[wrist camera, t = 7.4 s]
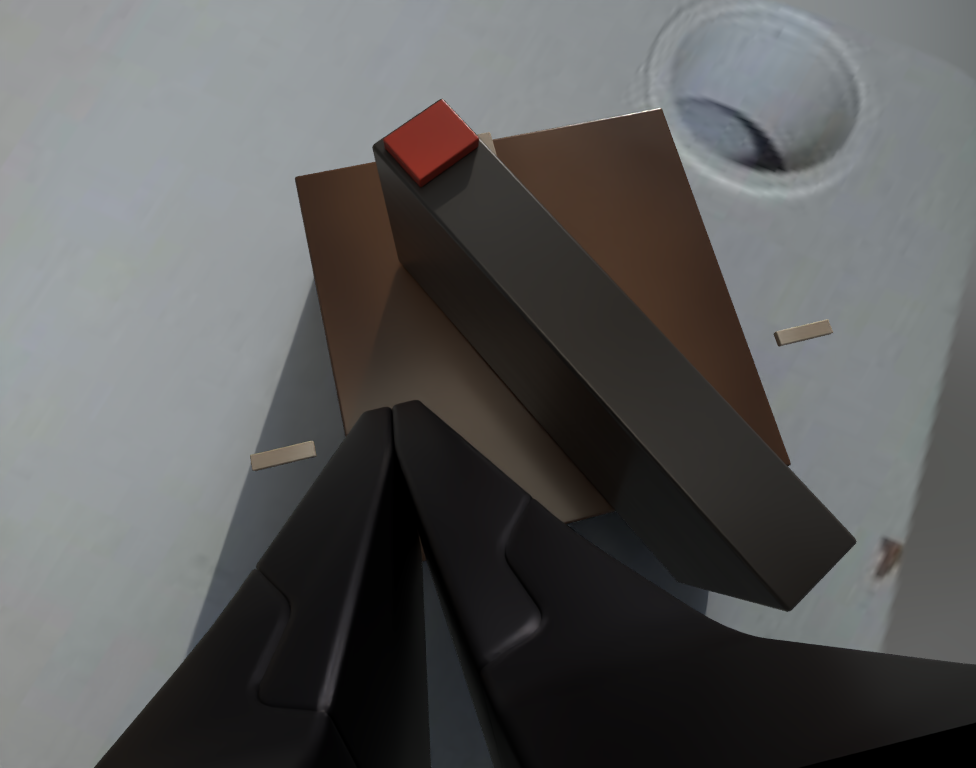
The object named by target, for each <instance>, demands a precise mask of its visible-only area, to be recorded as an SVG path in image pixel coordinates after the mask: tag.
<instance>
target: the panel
mask: <svg viewBox="0 0 976 768" xmlns="http://www.w3.org/2000/svg"><path fill="white" fill-rule="evenodd" d="M477 136H478V137H479V138H480V139H481V140H482V141H483V142H484V143H485V144H486V145H487V146H488V147H489V148H490V149H491V151H492V152H493V153H494V154H495V155H496V156H497V157H498V158H499V159H500V160H501V161H502V162H503V163H504V164H505V165H506V167H507V168H508V169H509V170H510V171H511V172H512V173H513V174H514V175H515V176H516V177H517V178H518V179H519V180H520V181H521V183H522V184H523V185H524V186H525V187H526V188H527V189H528V190H529V191H530V192H531V193H532V194H533V195H534V196H535V197H536V199H537V200H538V201H539V202H540V203H541V204H542V205H543V206H544V207H545V208H546V209H547V210H548V211H549V212H550V213H551V215H552V216H553V217H554V218H555V219H556V220H557V221H558V222H559V223H560V224H561V225H562V226H563V227H564V228H565V229H566V231H567V232H568V233H569V234H570V235H571V236H572V237H573V238H574V239H575V240H576V241H577V242H578V243H579V244H580V245H581V247H582V248H583V249H584V250H585V251H586V252H587V253H588V254H589V255H590V256H591V257H592V258H593V259H594V260H595V261H596V263H597V264H598V265H599V266H600V267H601V268H602V269H603V270H604V271H605V272H606V273H607V274H608V275H609V276H610V277H611V279H612V280H613V281H614V282H615V283H616V284H617V285H618V286H619V287H620V288H621V289H622V290H623V291H624V292H625V293H626V295H627V296H628V297H629V298H630V299H631V300H632V301H633V302H634V303H635V304H636V305H637V306H638V307H639V308H640V309H641V311H642V312H643V313H644V314H645V315H646V316H647V317H648V318H649V319H650V320H651V321H652V322H653V323H654V324H655V325H656V327H657V328H658V329H659V330H660V331H661V332H662V333H663V334H664V335H665V336H666V337H667V338H668V339H669V340H670V341H671V343H672V344H673V345H674V346H675V347H676V348H677V349H678V350H679V351H680V352H681V353H682V354H683V355H684V356H685V357H686V359H687V360H688V361H689V362H690V363H691V364H692V365H693V366H694V367H695V368H696V369H697V370H698V371H699V372H700V373H701V375H702V376H703V377H704V378H705V379H706V380H707V381H708V382H709V383H710V384H711V385H712V386H713V387H714V388H715V389H716V391H717V392H718V393H719V394H720V395H721V396H722V397H723V398H724V399H725V400H726V401H727V402H728V403H729V404H730V405H731V407H732V408H733V409H734V410H735V411H736V412H737V413H738V414H739V415H740V416H741V417H742V418H743V419H744V420H745V421H746V423H747V424H748V425H749V426H750V427H751V428H752V429H753V430H754V431H755V432H756V433H757V434H758V435H759V436H760V437H761V439H762V440H763V441H764V442H765V443H766V444H767V445H768V446H769V447H770V448H771V449H772V450H773V451H774V452H775V453H776V455H777V456H778V457H779V458H780V459H781V460H782V461H783V462H784V463H785V464H786V465H787V466H789V465H791V463H790V460H789V457H788V455H787V452H786V449H785V446H784V443H783V441H782V438H781V435H780V432H779V430H778V427H777V424H776V421H775V419H774V416H773V413H772V410H771V408H770V405H769V402H768V399H767V397H766V394H765V391H764V388H763V386H762V383H761V380H760V377H759V375H758V372H757V369H756V366H755V364H754V361H753V358H752V355H751V353H750V350H749V347H748V344H747V342H746V339H745V336H744V333H743V331H742V328H741V325H740V322H739V320H738V317H737V314H736V311H735V309H734V306H733V303H732V300H731V298H730V295H729V292H728V289H727V287H726V284H725V281H724V278H723V276H722V273H721V270H720V267H719V265H718V262H717V259H716V256H715V254H714V251H713V248H712V245H711V243H710V240H709V237H708V234H707V232H706V229H705V226H704V223H703V221H702V218H701V215H700V212H699V210H698V207H697V204H696V201H695V199H694V196H693V193H692V190H691V188H690V185H689V182H688V179H687V177H686V174H685V171H684V168H683V166H682V163H681V160H680V157H679V154H678V152H677V149H676V146H675V143H674V141H673V138H672V135H671V132H670V130H669V127H668V124H667V121H666V119H665V116H664V113H663V110H662V109H661V108H658V109H653V110H647V111H642V112H637V113H632V114H626V115H621V116H616V117H610V118H605V119H600V120H594V121H589V122H584V123H579V124H573V125H568V126H563V127H557V128H552V129H547V130H541V131H536V132H531V133H526V134H520V135H515V136H510V137H504V138H499V139H494V140H492V137H491V134H490V132H488V133H483V134H478V135H477ZM295 182H296V187H297V192H298V197H299V203H300V208H301V213H302V218H303V223H304V228H305V233H306V238H307V243H308V248H309V254H310V259H311V264H312V269H313V274H314V279H315V284H316V289H317V294H318V299H319V304H320V310H321V315H322V320H323V325H324V330H325V335H326V340H327V345H328V350H329V355H330V361H331V366H332V371H333V376H334V381H335V386H336V391H337V396H338V401H339V406H340V411H341V417H342V422H343V427H344V432H345V437H346V436H347V435H348V433H349V432H350V431H351V429H352V428H353V426H354V425H355V423H356V422H357V421H358V419H359V418H360V416H361V415H362V414H363V413H364V412H366V411H369V410H374V409H378V408H382V407H390V408H391V409H392V408H393V406H394V405H396V404H400V403H404V402H408V401H412V400H419V401H421V402H422V403H423V404H424V405H425V406H427V407H428V408H429V409H430V410H431V411H432V412H434V413H435V414H436V415H437V416H438V417H440V418H441V419H442V420H443V421H444V422H445V423H447V424H448V425H449V426H450V427H451V428H452V429H454V430H455V431H456V432H457V433H458V434H459V435H461V436H462V437H463V438H464V439H465V440H466V441H468V442H469V443H470V444H471V445H472V446H473V447H475V448H476V449H477V450H478V451H479V452H481V453H482V454H483V455H484V456H485V457H486V458H488V459H489V460H490V461H491V462H492V463H493V464H495V465H496V466H497V467H498V468H499V469H500V470H502V471H503V472H504V473H505V474H506V475H507V476H509V477H510V478H511V479H512V480H513V481H514V482H516V483H517V484H518V485H519V486H520V487H522V488H523V489H524V490H525V491H526V492H527V493H529V494H530V495H531V496H532V498H533V499H536V500H537V501H538V502H539V503H541V504H542V505H543V506H544V507H545V508H546V509H548V510H549V511H550V512H551V513H552V514H553V515H555V516H556V517H557V518H558V519H560V520H561V521H562V522H564V523H565V524H569V523H572V522H576V521H580V520H584V519H588V518H592V517H595V516H599V515H603V514H607V513H611V512H615V511H616V510H615V509H614V508H613V507H612V506H611V505H610V504H609V502H608V501H607V500H606V499H605V498H604V497H603V495H602V494H601V493H600V492H599V491H598V490H597V489H596V487H595V486H594V485H593V484H592V483H591V482H590V480H589V479H588V478H587V477H586V476H585V475H584V474H583V472H582V471H581V470H580V469H579V468H578V467H577V466H576V464H575V463H574V462H573V461H572V460H571V459H570V457H569V456H568V455H567V454H566V453H565V452H564V451H563V449H562V448H561V447H560V446H559V445H558V444H557V442H556V441H555V440H554V439H553V438H552V437H551V436H550V434H549V433H548V432H547V431H546V430H545V429H544V427H543V426H542V425H541V424H540V423H539V422H538V421H537V419H536V418H535V417H534V416H533V415H532V414H531V413H530V411H529V410H528V409H527V408H526V407H525V406H524V404H523V403H522V402H521V401H520V400H519V399H518V398H517V396H516V395H515V394H514V393H513V392H512V391H511V389H510V388H509V387H508V386H507V385H506V384H505V383H504V381H503V380H502V379H501V378H500V377H499V376H498V374H497V373H496V372H495V371H494V370H493V369H492V368H491V366H490V365H489V364H488V363H487V362H486V361H485V359H484V358H483V357H482V356H481V355H480V354H479V353H478V351H477V350H476V349H475V348H474V347H473V346H472V345H471V343H470V342H469V341H468V340H467V339H466V338H465V336H464V335H463V334H462V333H461V332H460V331H459V330H458V328H457V327H456V326H455V325H454V324H453V323H452V321H451V320H450V319H449V318H448V317H447V316H446V315H445V313H444V312H443V311H442V310H441V309H440V308H439V306H438V305H437V304H436V303H435V302H434V301H433V300H432V298H431V297H430V296H429V295H428V294H427V293H426V292H425V290H424V289H423V288H422V287H421V286H420V285H419V283H418V282H417V281H416V280H415V279H414V278H413V277H412V275H411V274H410V273H409V272H408V271H407V270H406V268H405V267H404V266H403V265H402V264H401V263H400V262H399V260H398V256H397V251H396V247H395V243H394V238H393V234H392V230H391V226H390V221H389V217H388V213H387V208H386V204H385V200H384V195H383V191H382V187H381V182H380V178H379V174H378V170H377V165H376V162H372V163H366V164H361V165H356V166H351V167H345V168H340V169H335V170H329V171H324V172H319V173H313V174H308V175H303V176H298V177H295ZM831 333H833V331H832V328H831V326H830V323H829V321H828V320H823V321H819V322H814V323H810V324H806V325H802V326H797V327H793V328H789V329H785V330H780V331H776V332H775V333H774V336H775V339H776V342H777V344H778V346H783V345H787V344H792V343H796V342H800V341H804V340H808V339H813V338H817V337H821V336H825V335H829V334H831ZM313 457H316V450H315V445H314V441H308V442H304V443H300V444H295V445H291V446H287V447H283V448H278V449H274V450H270V451H266V452H261V453H257V454H253V455H250V459H251V465H252V470H253V471H258V470H262V469H267V468H271V467H275V466H279V465H283V464H288V463H292V462H296V461H300V460H304V459H309V458H313ZM420 543H421V540H420ZM421 552H422V562H423V561H426V557H425V554H424V550H423V547H422V543H421Z"/></svg>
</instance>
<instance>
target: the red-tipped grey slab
mask: <svg viewBox="0 0 976 768" xmlns="http://www.w3.org/2000/svg"><path fill="white" fill-rule="evenodd" d="M372 148H373V152H374V157H375V161H376V165H377V170H378V174H379V178H380V182H381V187H382V191H383V195H384V200H385V204H386V208H387V213H388V217H389V221H390V226H391V230H392V234H393V238H394V243H395V247H396V251H397V256H398V260H399V262H400V263H401V264H402V265H403V266H404V267H405V268H406V270H407V271H408V272H409V273H410V274H411V275H412V277H413V278H414V279H415V280H416V281H417V282H418V283H419V285H420V286H421V287H422V288H423V289H424V290H425V292H426V293H427V294H428V295H429V296H430V297H431V298H432V300H433V301H434V302H435V303H436V304H437V305H438V306H439V308H440V309H441V310H442V311H443V312H444V313H445V315H446V316H447V317H448V318H449V319H450V320H451V321H452V323H453V324H454V325H455V326H456V327H457V328H458V330H459V331H460V332H461V333H462V334H463V335H464V336H465V338H466V339H467V340H468V341H469V342H470V343H471V345H472V346H473V347H474V348H475V349H476V350H477V351H478V353H479V354H480V355H481V356H482V357H483V358H484V359H485V361H486V362H487V363H488V364H489V365H490V366H491V368H492V369H493V370H494V371H495V372H496V373H497V374H498V376H499V377H500V378H501V379H502V380H503V381H504V383H505V384H506V385H507V386H508V387H509V388H510V389H511V391H512V392H513V393H514V394H515V395H516V396H517V398H518V399H519V400H520V401H521V402H522V403H523V404H524V406H525V407H526V408H527V409H528V410H529V411H530V413H531V414H532V415H533V416H534V417H535V418H536V419H537V421H538V422H539V423H540V424H541V425H542V426H543V427H544V429H545V430H546V431H547V432H548V433H549V434H550V436H551V437H552V438H553V439H554V440H555V441H556V442H557V444H558V445H559V446H560V447H561V448H562V449H563V451H564V452H565V453H566V454H567V455H568V456H569V457H570V459H571V460H572V461H573V462H574V463H575V464H576V466H577V467H578V468H579V469H580V470H581V471H582V472H583V474H584V475H585V476H586V477H587V478H588V479H589V480H590V482H591V483H592V484H593V485H594V486H595V487H596V489H597V490H598V491H599V492H600V493H601V494H602V495H603V497H604V498H605V499H606V500H607V501H608V502H609V504H610V505H611V506H612V507H613V508H614V509H615V510H616V512H617V513H618V514H619V515H620V516H621V517H622V519H623V520H624V521H625V522H626V523H627V524H628V525H629V527H630V528H631V529H632V530H633V531H634V532H635V534H636V535H637V536H638V537H639V538H640V539H641V540H642V542H643V543H644V544H645V545H646V546H647V547H648V548H649V550H650V551H651V552H652V553H653V554H654V555H655V557H656V558H657V559H658V560H659V561H660V562H661V563H662V565H663V566H664V567H665V568H666V569H667V570H668V572H669V573H670V574H671V575H672V576H673V577H674V578H675V580H676V581H677V582H679V583H682V584H686V585H690V586H694V587H697V588H701V589H705V590H708V591H712V592H716V593H720V594H723V595H727V596H731V597H734V598H738V599H742V600H746V601H749V602H753V603H757V604H760V605H764V606H768V607H772V608H775V609H779V610H783V611H786V612H788V611H791V610H792V609H793V608H794V607H795V606H796V605H797V604H798V603H799V602H800V601H801V600H802V599H803V598H804V597H805V596H806V595H807V594H808V593H809V592H810V591H811V590H812V588H813V587H814V586H815V585H816V584H817V583H818V582H819V581H820V580H821V579H822V578H823V577H824V576H825V575H826V574H827V573H828V572H829V571H830V570H831V569H832V568H833V567H834V566H835V565H836V563H837V562H838V561H839V560H840V559H841V558H842V557H843V556H844V555H845V554H846V553H847V552H848V551H849V550H850V549H851V548H852V547H853V546H854V545H855V544H856V539H855V538H854V537H853V536H852V535H851V533H850V532H849V531H848V530H847V529H846V528H845V527H844V526H843V525H842V524H841V523H840V522H839V521H838V520H837V519H836V517H835V516H834V515H833V514H832V513H831V512H830V511H829V510H828V509H827V508H826V507H825V506H824V505H823V504H822V503H821V501H820V500H819V499H818V498H817V497H816V496H815V495H814V494H813V493H812V492H811V491H810V490H809V489H808V488H807V487H806V485H805V484H804V483H803V482H802V481H801V480H800V479H799V478H798V477H797V476H796V475H795V474H794V473H793V472H792V471H791V469H790V468H789V467H788V466H787V465H786V464H785V463H784V462H783V461H782V460H781V459H780V458H779V457H778V456H777V455H776V453H775V452H774V451H773V450H772V449H771V448H770V447H769V446H768V445H767V444H766V443H765V442H764V441H763V440H762V439H761V437H760V436H759V435H758V434H757V433H756V432H755V431H754V430H753V429H752V428H751V427H750V426H749V425H748V424H747V423H746V421H745V420H744V419H743V418H742V417H741V416H740V415H739V414H738V413H737V412H736V411H735V410H734V409H733V408H732V407H731V405H730V404H729V403H728V402H727V401H726V400H725V399H724V398H723V397H722V396H721V395H720V394H719V393H718V392H717V391H716V389H715V388H714V387H713V386H712V385H711V384H710V383H709V382H708V381H707V380H706V379H705V378H704V377H703V376H702V375H701V373H700V372H699V371H698V370H697V369H696V368H695V367H694V366H693V365H692V364H691V363H690V362H689V361H688V360H687V359H686V357H685V356H684V355H683V354H682V353H681V352H680V351H679V350H678V349H677V348H676V347H675V346H674V345H673V344H672V343H671V341H670V340H669V339H668V338H667V337H666V336H665V335H664V334H663V333H662V332H661V331H660V330H659V329H658V328H657V327H656V325H655V324H654V323H653V322H652V321H651V320H650V319H649V318H648V317H647V316H646V315H645V314H644V313H643V312H642V311H641V309H640V308H639V307H638V306H637V305H636V304H635V303H634V302H633V301H632V300H631V299H630V298H629V297H628V296H627V295H626V293H625V292H624V291H623V290H622V289H621V288H620V287H619V286H618V285H617V284H616V283H615V282H614V281H613V280H612V279H611V277H610V276H609V275H608V274H607V273H606V272H605V271H604V270H603V269H602V268H601V267H600V266H599V265H598V264H597V263H596V261H595V260H594V259H593V258H592V257H591V256H590V255H589V254H588V253H587V252H586V251H585V250H584V249H583V248H582V247H581V245H580V244H579V243H578V242H577V241H576V240H575V239H574V238H573V237H572V236H571V235H570V234H569V233H568V232H567V231H566V229H565V228H564V227H563V226H562V225H561V224H560V223H559V222H558V221H557V220H556V219H555V218H554V217H553V216H552V215H551V213H550V212H549V211H548V210H547V209H546V208H545V207H544V206H543V205H542V204H541V203H540V202H539V201H538V200H537V199H536V197H535V196H534V195H533V194H532V193H531V192H530V191H529V190H528V189H527V188H526V187H525V186H524V185H523V184H522V183H521V181H520V180H519V179H518V178H517V177H516V176H515V175H514V174H513V173H512V172H511V171H510V170H509V169H508V168H507V167H506V165H505V164H504V163H503V162H502V161H501V160H500V159H499V158H498V157H497V156H496V155H495V154H494V153H493V152H492V151H491V149H490V148H489V147H488V146H487V145H486V144H485V143H484V142H483V141H482V140H481V139H480V138H479V137H478V136H477V135H476V133H475V132H474V131H473V130H472V129H471V128H470V127H469V126H468V125H467V124H466V123H465V122H464V121H463V120H462V119H461V117H460V116H459V115H458V114H457V113H456V112H455V111H454V110H453V109H452V108H451V107H450V106H449V105H448V104H447V103H446V101H445V100H443V99H440V100H438V101H437V102H435V103H434V104H432V105H431V106H429V107H428V108H427V109H425V110H424V111H422V112H421V113H419V114H418V115H416V116H415V117H413V118H412V119H410V120H409V121H407V122H406V123H404V124H403V125H402V126H400V127H399V128H397V129H396V130H394V131H393V132H391V133H390V134H388V135H387V136H385V137H384V138H382V139H381V140H379V141H378V142H377V143H375V144H374V145H373V147H372Z"/></svg>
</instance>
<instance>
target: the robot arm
mask: <svg viewBox="0 0 976 768" xmlns="http://www.w3.org/2000/svg"><path fill="white" fill-rule="evenodd" d="M420 540H421V543H422V547H423V550H424V554H425V557H426V561H427V564H428V567H429V570H430V573H431V576H432V579H433V582H434V585H435V588H436V591H437V594H438V597H439V600H440V603H441V606H442V610H443V613H444V616H445V619H446V622H447V625H448V628H449V631H450V634H451V637H452V640H453V643H454V646H455V649H456V652H457V655H458V658H459V661H460V664H461V667H462V670H463V674H464V677H465V680H466V683H467V686H468V689H469V692H470V695H471V698H472V701H473V704H474V707H475V710H476V713H477V716H478V719H479V722H480V725H481V728H482V731H483V734H484V738H485V741H486V744H487V747H488V750H489V753H490V756H491V759H492V762H493V765H494V768H976V665H974V664H963V663H955V662H948V661H940V660H932V659H923V658H915V657H907V656H900V655H893V654H885V653H877V652H869V651H861V650H853V649H845V648H838V647H830V646H822V645H814V644H806V643H798V642H790V641H783V640H775V639H767V638H761V637H755V636H752V635H748V634H745V633H742V632H739V631H737V630H734V629H731V628H729V627H726V626H724V625H722V624H720V623H718V622H716V621H714V620H712V619H710V618H708V617H706V616H705V615H703V614H701V613H699V612H698V611H696V610H694V609H693V608H691V607H690V606H688V605H686V604H685V603H683V602H682V601H680V600H679V599H677V598H676V597H674V596H672V595H671V594H669V593H668V592H666V591H665V590H663V589H662V588H660V587H658V586H657V585H655V584H654V583H652V582H651V581H649V580H647V579H646V578H644V577H643V576H641V575H640V574H638V573H637V572H635V571H633V570H632V569H630V568H629V567H627V566H626V565H624V564H622V563H621V562H619V561H618V560H616V559H615V558H613V557H612V556H610V555H608V554H607V553H606V552H604V551H603V550H601V549H600V548H598V547H597V546H595V545H594V544H592V543H591V542H589V541H588V540H586V539H585V538H583V537H582V536H581V535H579V534H578V533H576V532H575V531H574V530H572V529H571V528H570V527H569V526H567V525H566V524H565V523H564V522H562V521H561V520H560V519H558V518H557V517H556V516H555V515H553V514H552V513H551V512H550V511H549V510H548V509H546V508H545V507H544V506H543V505H542V504H541V503H539V502H538V501H537V500H536V499H533V498H532V496H531V495H530V494H529V493H527V492H526V491H525V490H524V489H523V488H522V487H520V486H519V485H518V484H517V483H516V482H514V481H513V480H512V479H511V478H510V477H509V476H507V475H506V474H505V473H504V472H503V471H502V470H500V469H499V468H498V467H497V466H496V465H495V464H493V463H492V462H491V461H490V460H489V459H488V458H486V457H485V456H484V455H483V454H482V453H481V452H479V451H478V450H477V449H476V448H475V447H473V446H472V445H471V444H470V443H469V442H468V441H466V440H465V439H464V438H463V437H462V436H461V435H459V434H458V433H457V432H456V431H455V430H454V429H452V428H451V427H450V426H449V425H448V424H447V423H445V422H444V421H443V420H442V419H441V418H440V417H438V416H437V415H436V414H435V413H434V412H432V411H431V410H430V409H429V408H428V407H427V406H425V405H424V404H423V403H422V402H421V401H419V400H412V401H408V402H404V403H400V404H396V405H394V406H393V408H392V409H391V408H390V407H382V408H378V409H374V410H369V411H366V412H364V413H363V414H362V415H361V416H360V418H359V419H358V421H357V422H356V423H355V425H354V426H353V428H352V429H351V431H350V432H349V433H348V435H347V436H346V438H345V439H344V441H343V442H342V443H341V445H340V446H339V448H338V449H337V451H336V452H335V453H334V455H333V456H332V458H331V459H330V461H329V462H328V463H327V465H326V466H325V468H324V469H323V471H322V472H321V473H320V475H319V476H318V478H317V479H316V481H315V482H314V483H313V485H312V486H311V488H310V489H309V491H308V492H307V493H306V495H305V496H304V498H303V499H302V501H301V502H300V503H299V505H298V506H297V508H296V509H295V511H294V512H293V513H292V515H291V516H290V518H289V519H288V521H287V522H286V523H285V525H284V526H283V528H282V529H281V531H280V532H279V533H278V535H277V536H276V538H275V539H274V541H273V542H272V543H271V545H270V546H269V548H268V549H267V551H266V552H265V553H264V555H263V556H262V558H261V559H260V561H259V562H258V563H257V565H256V568H257V569H254V570H252V572H251V573H250V574H249V576H248V577H247V579H246V580H245V582H244V583H243V584H242V586H241V587H240V589H239V590H238V592H237V593H236V594H235V596H234V597H233V598H232V600H231V601H230V602H229V604H228V605H227V606H226V608H225V609H224V611H223V612H222V613H221V615H220V616H219V617H218V619H217V620H216V621H215V623H214V624H213V625H212V627H211V628H210V629H209V631H208V632H207V633H206V634H205V635H204V637H203V638H202V639H201V640H200V642H199V643H198V644H197V645H196V647H195V648H194V649H193V650H192V652H191V653H190V654H189V655H188V656H187V658H186V659H185V660H184V661H183V663H182V664H181V665H180V666H179V668H178V669H177V670H176V671H175V672H174V674H173V675H172V676H171V677H170V678H169V679H168V681H167V682H166V683H165V684H164V685H163V687H162V688H161V689H160V690H159V691H158V692H157V694H156V695H155V696H154V697H153V698H152V700H151V701H150V702H149V703H148V704H147V705H146V707H145V708H144V709H143V710H142V711H141V713H140V714H139V715H138V716H137V717H136V718H135V720H134V721H133V722H132V723H131V724H130V726H129V727H128V728H127V729H126V730H125V732H124V733H123V734H122V735H121V736H120V737H119V739H118V740H117V741H116V742H115V743H114V745H113V746H112V747H111V748H110V749H109V750H108V752H107V753H106V754H105V755H104V756H103V758H102V759H101V760H100V761H99V762H98V763H97V765H96V766H95V767H94V768H431V758H430V734H429V711H428V687H427V663H426V640H425V616H424V592H423V569H422V552H421V543H420Z"/></svg>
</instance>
